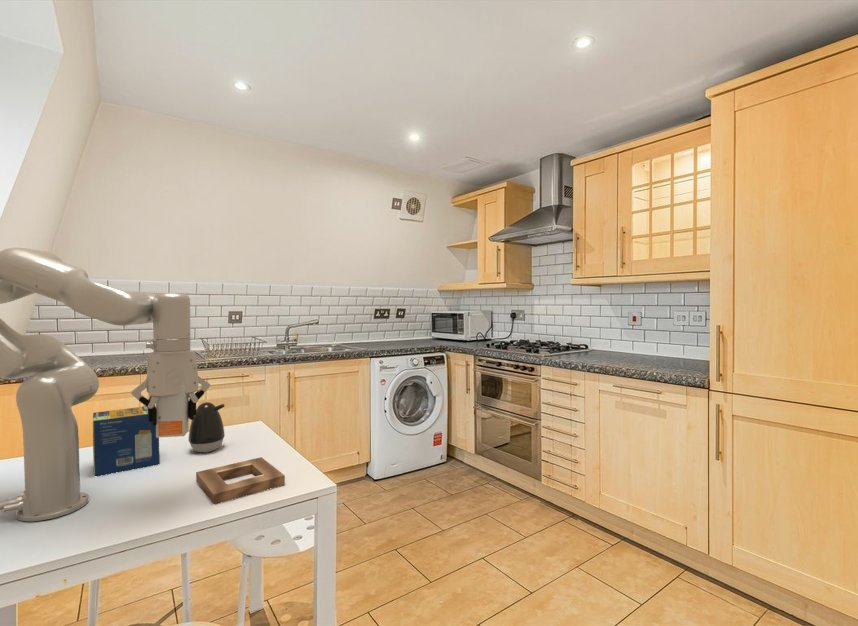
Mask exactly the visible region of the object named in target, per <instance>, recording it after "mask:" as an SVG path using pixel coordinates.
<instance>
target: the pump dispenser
mask: <svg viewBox="0 0 858 626" xmlns="http://www.w3.org/2000/svg"><path fill="white" fill-rule="evenodd" d="M225 405H226V404H224V403H222V404H218V405H217V406H216V405H215V404H214V403H212V402H210V401H209V402H207V401H205V402H203V403H201V404H199V405H198V406H197V407H196V415H194V420H190V421H191V422H190V426H189V429H188V432H189V433H188V443H189V444H190V447H191V449H192V450H193V451H195V452H197V453H201V452H206V453H211V452H213V451H216V450H217V449H218V448H220V447H221V446H222V443H223V441H224V439H225V427H224V424H223V423H224V422H223V420H222V417H221V413H220V412H219V410H221V409H223V408H225V407H226V406H225Z"/></svg>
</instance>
